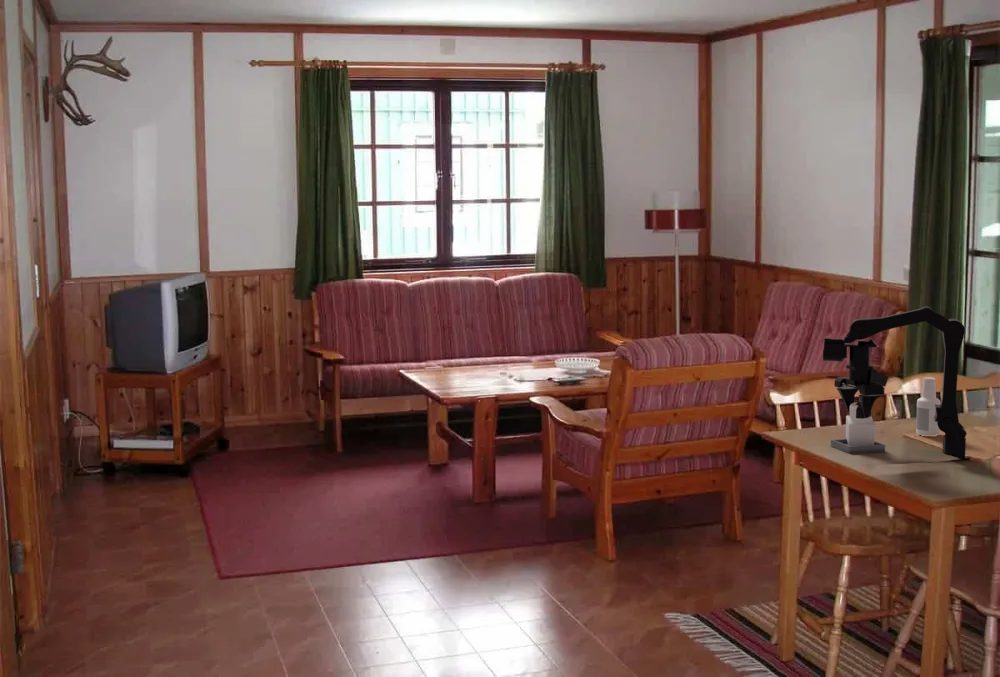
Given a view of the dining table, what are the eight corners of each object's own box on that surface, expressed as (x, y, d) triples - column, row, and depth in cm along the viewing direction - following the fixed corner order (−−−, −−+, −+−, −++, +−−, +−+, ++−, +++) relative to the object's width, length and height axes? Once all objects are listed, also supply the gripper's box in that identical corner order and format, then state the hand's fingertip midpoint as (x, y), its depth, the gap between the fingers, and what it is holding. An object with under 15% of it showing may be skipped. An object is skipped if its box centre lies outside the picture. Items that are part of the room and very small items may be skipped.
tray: (885, 451, 344) (885, 444, 344) (849, 453, 341) (849, 446, 341) (865, 444, 355) (865, 437, 354) (830, 446, 352) (830, 439, 352)
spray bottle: (919, 433, 372) (921, 375, 370) (942, 435, 368) (943, 377, 366) (913, 436, 366) (914, 378, 365) (936, 438, 363) (937, 380, 361)
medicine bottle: (870, 436, 352) (871, 399, 348) (874, 446, 346) (875, 408, 342) (845, 437, 353) (846, 399, 350) (848, 447, 347) (849, 409, 343)
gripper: (902, 365, 338) (900, 419, 340) (868, 357, 356) (867, 408, 358) (866, 366, 336) (865, 421, 337) (834, 358, 354) (833, 410, 355)
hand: (858, 415), depth 347 cm, fingers open, 9 cm apart
